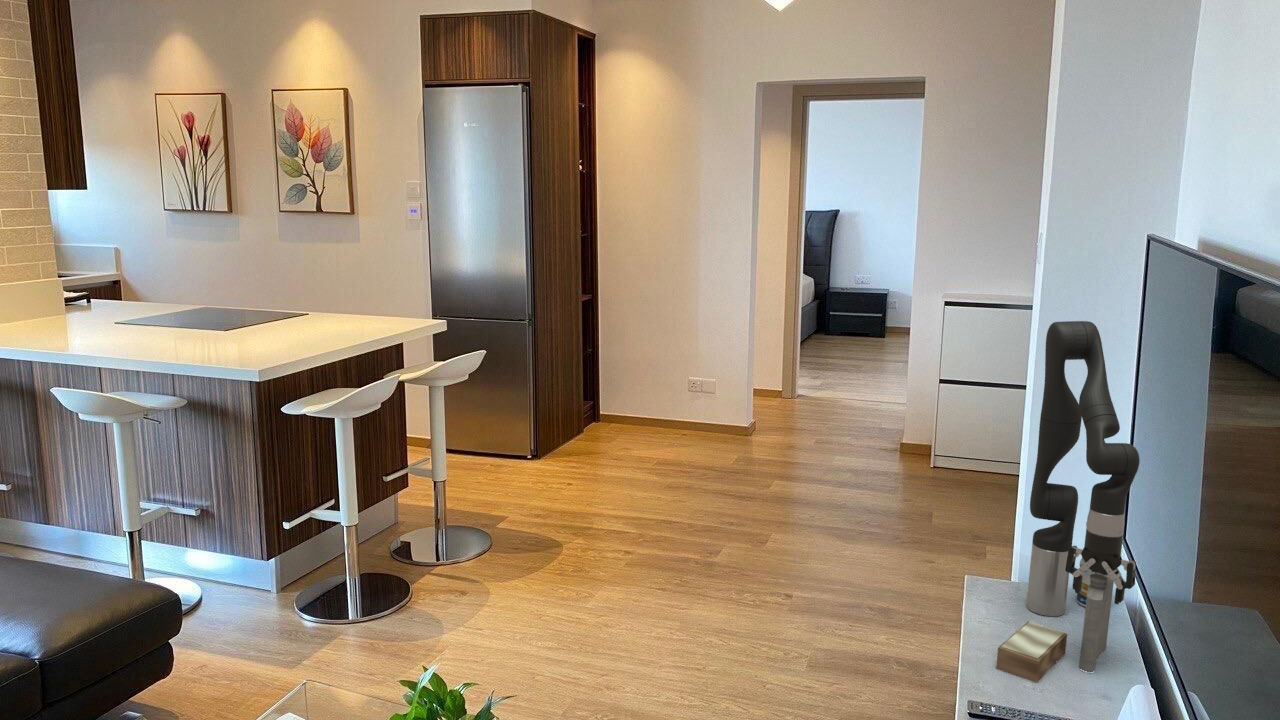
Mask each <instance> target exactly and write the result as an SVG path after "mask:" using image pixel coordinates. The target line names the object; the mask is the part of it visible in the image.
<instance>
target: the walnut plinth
mask: <svg viewBox="0 0 1280 720" xmlns="http://www.w3.org/2000/svg"><path fill="white" fill-rule="evenodd" d="M1067 638H1068V633H1066V632H1064V631H1061V630H1058V629H1055V628H1053V627H1052V628H1051V627H1049V626H1045V625H1042V624H1039V623H1036V622H1033V621H1030V620H1029V621H1028V620H1027V622H1026V623H1025V624H1023V625H1022V626H1021V627H1020V628H1018V629H1017V630H1016V631H1015V632H1014V633H1013V634H1012V635H1011V636H1009V637H1008V638H1007V639H1006V640H1005V641H1004V642H1003V643H1002V644H1000V645H999V646H998V647H997V655H996V665H995V666H996V667H995V668H996V669H998V670H1000V671H1003V672H1006V673H1009V674H1012V675H1015V676H1018V677H1020V678H1024V679H1026V680H1029V681H1031V682H1035V683H1038V682H1039V680H1041V679H1042V678H1043V677H1044V676H1045V675H1046V674H1047V673H1048V672H1049V671H1050V670H1051V669H1052V667H1054V665H1056V664H1057V662H1059V660H1060V659H1062V657H1064V655H1066V649H1067ZM1056 661H1057V662H1056ZM1049 669H1050V670H1049ZM1048 670H1049V671H1048ZM1047 671H1048V672H1047ZM1046 672H1047V673H1046ZM1045 673H1046V674H1045ZM1044 674H1045V675H1044Z"/></svg>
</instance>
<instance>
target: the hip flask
mask: <svg viewBox="0 0 1280 720" xmlns="http://www.w3.org/2000/svg"><path fill="white" fill-rule="evenodd" d="M1090 580H1091V581H1090V586H1089V588H1088V591H1087V599H1086V607H1085V610H1084V619H1083V627H1082V634H1081V635H1082V636H1081V646H1080V655H1079V662H1078V669H1079V668H1080V669H1082V670H1084V671H1087V672H1093V671H1096V663H1097V661H1098V658H1100V656H1101V655H1102V654H1101V653H1102V652H1103V653H1104V652H1105V651H1106V649H1107V641H1108V634H1109V626H1110V625H1109V624H1110V619H1111V618H1110V616H1111V607H1112V599H1113V592H1114V585H1115V583H1114V581H1112V580H1111V578H1110V577H1109V576H1103V575H1100V574H1091V575H1090ZM1100 654H1101V655H1100ZM1099 655H1100V656H1099ZM1096 660H1097V661H1096ZM1080 669H1079V670H1080Z"/></svg>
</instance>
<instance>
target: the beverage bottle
mask: <svg viewBox="0 0 1280 720" xmlns="http://www.w3.org/2000/svg"><path fill="white" fill-rule="evenodd" d="M1083 549H1084V547H1083ZM1083 549H1082V550H1083ZM1084 564H1085V561H1084V559H1083V557H1082V556H1081V559H1080V560H1079V568H1080V567H1081V566H1082V565H1084ZM1091 574H1100V575H1103V574H1101V573H1099V572H1092V571H1091V570H1090V569H1089V568H1088V569H1087V570H1086V571H1084V572H1083V573H1082V574H1081V576H1082V585H1081V591H1080V592H1079V593H1076V602H1077V603H1078V604H1079V605H1081V606H1083V607H1085V608H1086V599H1087V591H1088V588H1089V586H1090V581H1091V580H1090V575H1091ZM1103 576H1109V575H1103ZM1109 577H1110V576H1109Z"/></svg>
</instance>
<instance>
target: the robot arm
mask: <svg viewBox="0 0 1280 720" xmlns="http://www.w3.org/2000/svg"><path fill="white" fill-rule="evenodd" d="M1044 351H1045V353H1044V354H1045V355H1044V358H1045V359H1044V362H1045V363H1044V372H1045V373H1044V386H1043V397H1042V403H1041V404H1042V405H1041V410H1040V416H1039V417H1040V419H1039V428H1038V444H1037V456H1036V464H1035V468H1034V474H1033V481H1032V487H1031V491H1030V497H1029V499H1030V500H1029V510H1030V514H1031V516H1032V517H1033V518H1035V519H1039V520H1046V521H1053V522H1058V523H1056V524H1054V525H1052V526H1048V527H1044V528H1040V529H1037V530H1035V531H1033V535H1032V541H1031V542H1032V543H1031V551H1030V552H1031V555H1030V565H1029V574H1028V575H1029V576H1028V583H1027V592H1026V600H1025V601H1026V604H1025V606H1026V608H1027V609H1028V610H1030V611H1031V612H1032V613H1035V614H1038V615H1042V616H1046V617H1059V616H1060V617H1061V616H1063V615H1065V612H1066V605H1067V596H1068V587H1069V578H1070V577H1069V575H1070V574H1071V575H1072V577H1073V579H1072V590H1074V593H1075V594H1077V593H1079V592H1080V591H1081V585H1082V576H1081V574H1082V573H1083V572H1084V571H1086V570H1087V569H1088V568H1089V569H1090V570H1091V571H1092V572H1099V573H1101V574H1103V575H1109V576H1110V578H1111V580H1112V581H1114V585H1115V586H1116V588H1115V594H1114V601H1113V603H1114V605H1119V604H1121V603H1122V602H1123V601H1124V599H1125V591H1126V589H1128V590H1131V589H1132V588H1133V587H1134V586H1135V585H1136V574H1135V571H1137V570H1136V569H1137V562H1136V561H1135V560H1134V559H1132V560H1130V561H1129V560H1126V559H1123V558H1122V550H1123V549H1122V548H1123V547H1122V545H1123V540H1124V539H1123V538H1124V531H1125V510H1126V501H1127V495H1128V493H1129V491H1130V489H1131V486H1132V483H1133V482H1134V479H1135V477H1136V475H1137V472H1138V471H1139V467H1140V462H1141V461H1140V459H1141V458H1140V454H1139V452H1138V450H1137V448H1136V446H1134V445H1133V444H1130V443H1128V442H1127V443H1126V442H1125V443H1124V442H1106V440H1105V439H1109V438H1112V437H1114V436H1116V435H1117V434H1118V433H1119V432H1120V429H1121V425H1120V421H1119V418H1118V415H1117V413H1116V409H1115V407H1114V404H1113V401H1112V397H1111V392H1110V389H1109V383H1108V376H1107V370H1106V369H1107V368H1106V362H1105V361H1106V360H1105V356H1104V349H1103V342H1102V338H1101V335H1100V332H1099V329H1098V327H1097V326H1096V324H1095V323H1094V322H1092V321H1087V320H1072V321H1070V320H1068V321H1065V320H1064V321H1054V322H1052V323H1051V324H1050V325H1049V326H1048V329H1047V333H1046V337H1045V350H1044ZM1070 360H1072V361H1077V360H1078V361H1079V360H1083V361H1084V362H1085V365H1086V369H1087V375H1086V378H1085V381H1084V384H1083V387H1082V389H1081V391H1080V394H1079V400H1077V398H1076V396H1075V395H1074V393H1073V392H1072V390H1071V387H1070V386H1069V384H1068V382H1067V379H1066V373H1065V372H1066V371H1065V368H1066V367H1065V365H1066V361H1070ZM1082 421H1083V425H1084V429H1085V435H1086V436H1085V437H1086V438H1085V439H1086V440H1085V441H1086V452H1085V454H1086V455H1085V459H1086V465H1087V466H1088V468H1089V469H1090V470H1091V472H1093V473H1094V474H1096V475H1100V476H1101V475H1103V476H1110V478H1108V479H1106V480H1105V481H1102V482H1098V483H1096V484H1094V485H1093V486H1092V489H1091V493H1090V495H1091V496H1090V503H1089V511H1088V514H1087V519H1086V522H1085V523H1086V525H1085V526H1086V527H1085V537H1084V544H1083V545H1084V547H1083V548H1084V549H1082V548H1080V547H1078V546H1077V545H1073V537H1074V530H1075V524H1076V517H1077V512H1078V505H1079V493H1078V489H1077V487H1075V486H1074V485H1070V484H1069V485H1068V484H1059V483H1050V482H1049V481H1048V480H1049V478H1050V476H1051V474H1052V473H1053V470H1054V469H1055V467H1057V466H1058V464H1059V463H1060V462H1061V460H1063V459H1064V457H1065V456H1066V455H1067V454H1068V453H1070V451H1071V450H1072V449H1073V448H1074V447H1075V446H1076V444H1077V442H1078V441H1079V439H1080V435H1081V427H1082ZM1080 555H1081V558H1082V557H1083V559H1084V561H1085V564H1084V565H1082V566H1081V567H1080V566H1079V568H1076V567H1075V566H1076V559H1077V558H1078V557H1079V556H1080ZM1120 566H1122V567H1123V570H1124V571H1126V575H1125V577H1126V579H1125V580H1124V578H1123V576H1122V573H1121V571H1120V570H1119V568H1120Z"/></svg>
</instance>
